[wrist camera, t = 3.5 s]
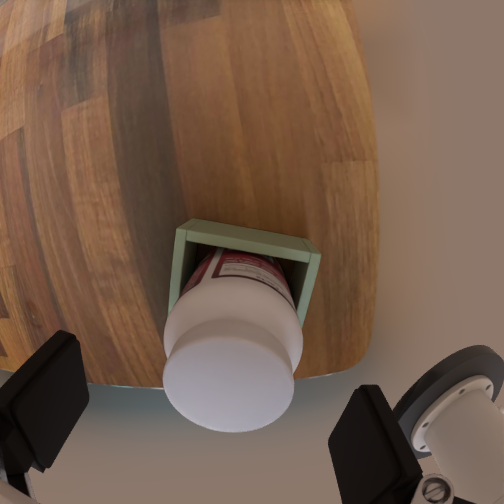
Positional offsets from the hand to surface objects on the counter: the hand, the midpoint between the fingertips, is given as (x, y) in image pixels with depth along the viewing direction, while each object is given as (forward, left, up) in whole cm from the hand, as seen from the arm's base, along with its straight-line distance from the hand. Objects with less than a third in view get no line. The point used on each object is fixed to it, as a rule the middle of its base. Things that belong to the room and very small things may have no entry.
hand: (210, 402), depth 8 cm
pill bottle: (0, 0, -12) cm, 12 cm away
